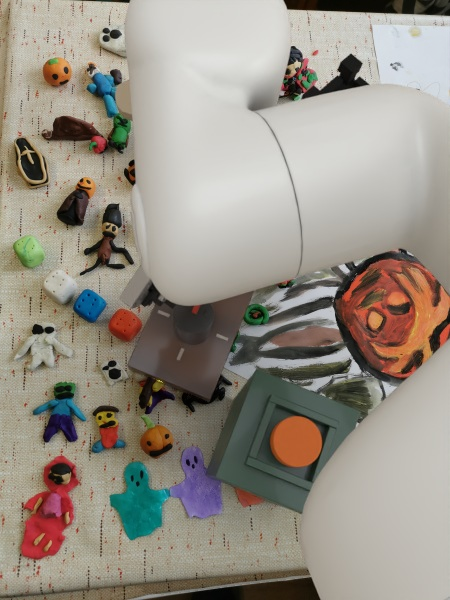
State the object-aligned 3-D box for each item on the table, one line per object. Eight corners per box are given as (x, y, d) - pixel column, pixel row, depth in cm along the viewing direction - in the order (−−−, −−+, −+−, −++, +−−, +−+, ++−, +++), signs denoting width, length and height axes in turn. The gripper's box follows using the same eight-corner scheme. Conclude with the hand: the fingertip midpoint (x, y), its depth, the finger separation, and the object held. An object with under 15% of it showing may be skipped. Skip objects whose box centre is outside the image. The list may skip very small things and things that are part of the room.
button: (308, 474, 41) (312, 474, 40) (263, 456, 42) (266, 455, 40) (323, 428, 43) (328, 427, 41) (279, 410, 43) (283, 408, 41)
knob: (203, 350, 63) (205, 340, 58) (167, 335, 63) (166, 324, 58) (217, 315, 64) (220, 302, 59) (182, 301, 64) (182, 287, 59)
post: (280, 506, 62) (330, 525, 41) (204, 474, 62) (216, 477, 41) (306, 428, 64) (366, 409, 43) (233, 398, 65) (258, 365, 44)
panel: (209, 402, 64) (210, 399, 61) (129, 369, 65) (126, 365, 62) (252, 295, 68) (255, 287, 65) (176, 265, 69) (176, 256, 66)
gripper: (160, 298, 32) (167, 354, 49) (325, 102, 37) (281, 214, 53) (61, 223, 33) (101, 303, 50) (235, 41, 38) (218, 169, 54)
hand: (194, 257), depth 51 cm, fingers open, 9 cm apart
